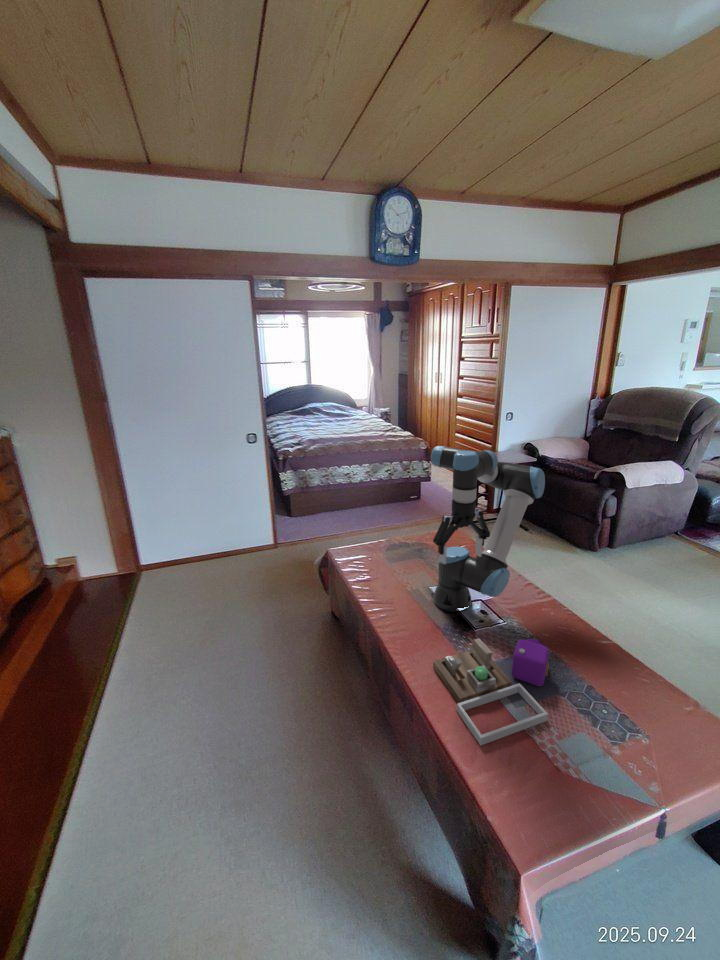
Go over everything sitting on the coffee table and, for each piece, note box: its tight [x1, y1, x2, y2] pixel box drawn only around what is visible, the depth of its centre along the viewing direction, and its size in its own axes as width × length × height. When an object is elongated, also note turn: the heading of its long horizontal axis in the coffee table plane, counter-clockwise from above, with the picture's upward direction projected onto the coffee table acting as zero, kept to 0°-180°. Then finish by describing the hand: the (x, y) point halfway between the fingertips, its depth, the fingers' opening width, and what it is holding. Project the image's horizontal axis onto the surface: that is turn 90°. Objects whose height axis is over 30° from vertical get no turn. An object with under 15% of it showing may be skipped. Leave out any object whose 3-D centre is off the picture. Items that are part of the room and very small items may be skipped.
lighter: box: [444, 655, 462, 677], centre depth 128 cm, size 7×2×8 cm, turn 18°
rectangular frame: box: [456, 683, 549, 747], centre depth 114 cm, size 22×12×2 cm, turn 109°
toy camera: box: [511, 638, 550, 687], centre depth 129 cm, size 11×14×10 cm
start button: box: [475, 666, 488, 682], centre depth 122 cm, size 4×4×4 cm
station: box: [432, 638, 513, 704], centre depth 127 cm, size 18×16×8 cm
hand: (460, 558), depth 137 cm, fingers open, 13 cm apart
